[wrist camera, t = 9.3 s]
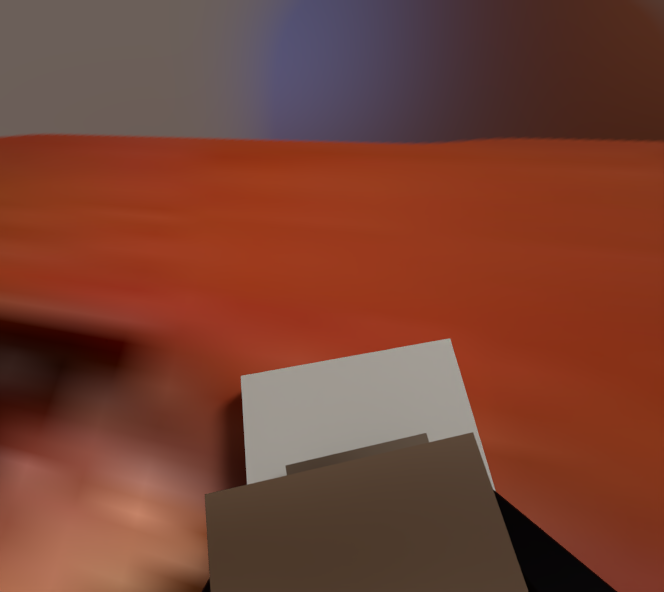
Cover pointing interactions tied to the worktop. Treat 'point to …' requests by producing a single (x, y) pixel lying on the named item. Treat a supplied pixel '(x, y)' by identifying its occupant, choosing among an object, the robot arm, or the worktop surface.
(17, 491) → the worktop surface
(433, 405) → the display block
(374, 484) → the brown box on plinth
